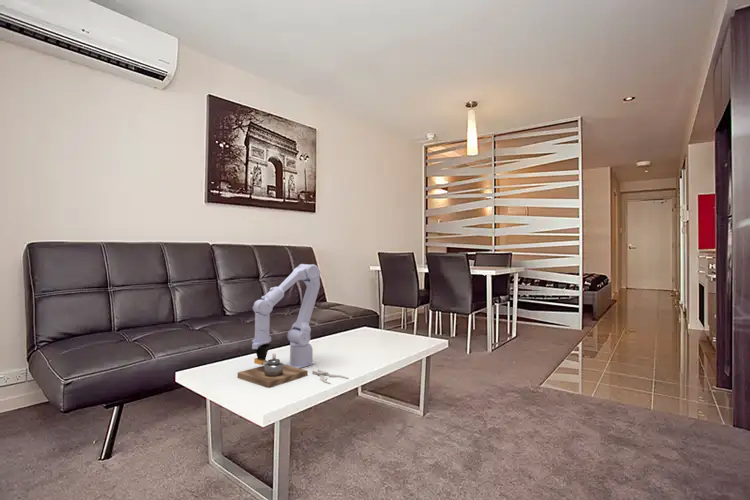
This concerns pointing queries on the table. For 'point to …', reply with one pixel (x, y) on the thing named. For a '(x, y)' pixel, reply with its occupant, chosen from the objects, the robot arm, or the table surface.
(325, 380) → the pliers
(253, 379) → the bench block
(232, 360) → the table surface
